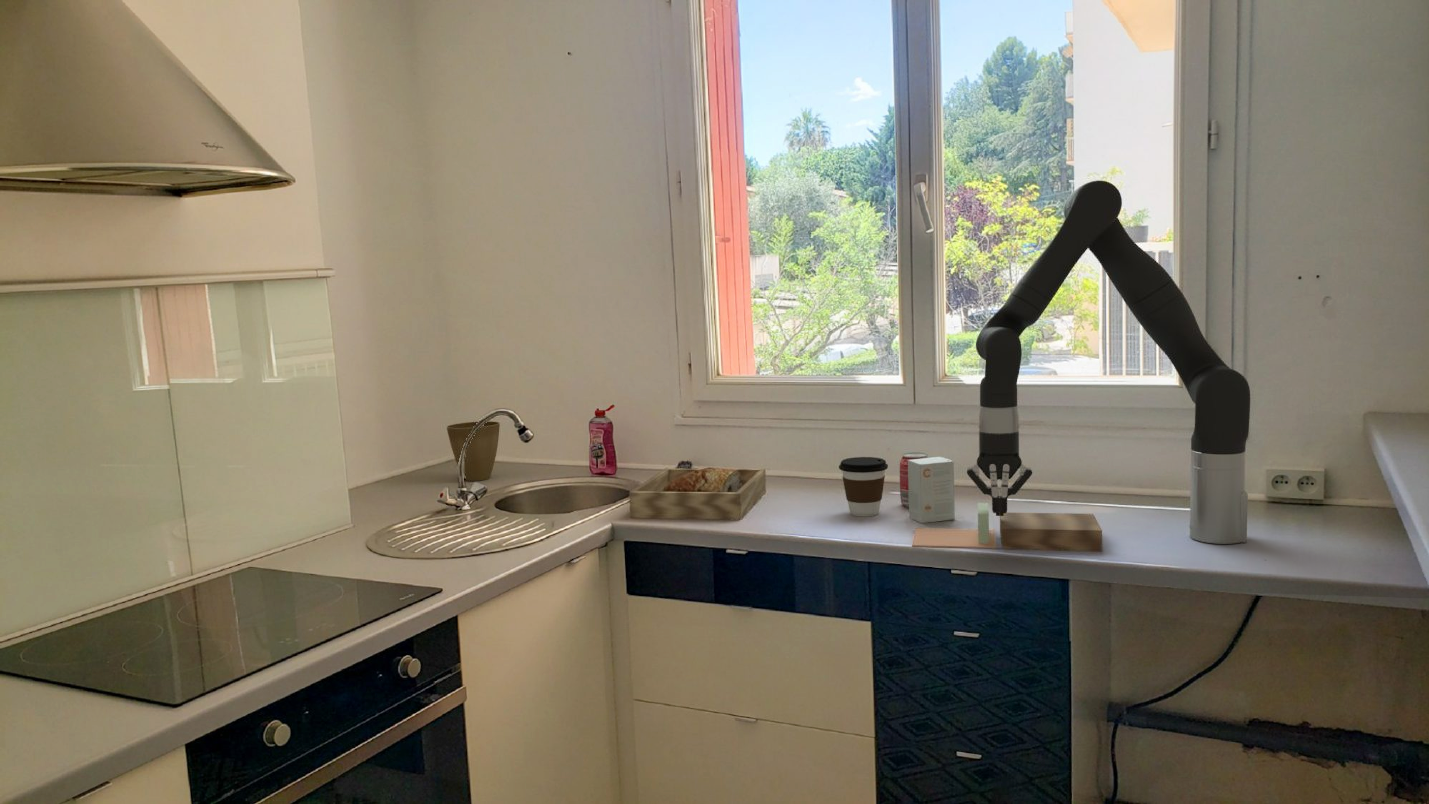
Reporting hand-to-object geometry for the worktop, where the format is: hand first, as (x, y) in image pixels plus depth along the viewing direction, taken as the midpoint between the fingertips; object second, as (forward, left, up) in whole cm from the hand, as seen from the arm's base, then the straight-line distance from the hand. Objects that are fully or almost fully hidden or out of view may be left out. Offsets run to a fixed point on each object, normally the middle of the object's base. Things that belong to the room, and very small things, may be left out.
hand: (999, 515), depth 193 cm
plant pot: (+144, -55, -5) cm, 154 cm away
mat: (+9, 0, -5) cm, 10 cm away
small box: (+14, -17, -5) cm, 22 cm away
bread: (+68, -25, -6) cm, 73 cm away
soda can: (+18, -29, -5) cm, 34 cm away
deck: (-9, 0, -5) cm, 10 cm away
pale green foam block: (+2, 0, -2) cm, 3 cm away
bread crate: (+69, -27, -5) cm, 74 cm away
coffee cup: (+29, -21, -5) cm, 36 cm away
